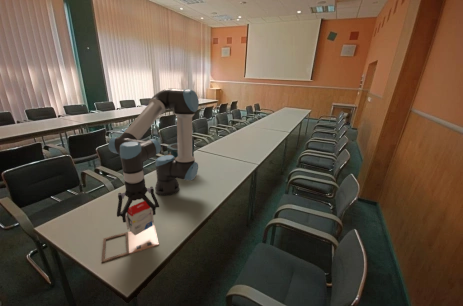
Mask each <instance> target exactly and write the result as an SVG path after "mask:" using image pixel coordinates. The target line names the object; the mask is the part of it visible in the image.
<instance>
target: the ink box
mask: <svg viewBox="0 0 463 306" xmlns="http://www.w3.org/2000/svg"><path fill="white" fill-rule="evenodd" d="M148 200H150V198H148ZM127 217H128V223H129V231H131V232H132V233H133V234H134V235H137V234H139V233H141V232H142V231H144V230H146V229H148V228H150V227H151V226H152V225H153V223H152V217H151V209H150V206H149V205H148V204H147V203H146V201H144V200H142V201H141V202H139V203H136V204H134V205H130V207H129V209H128V211H127Z"/></svg>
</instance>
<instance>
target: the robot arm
mask: <svg viewBox="0 0 463 306" xmlns="http://www.w3.org/2000/svg"><path fill="white" fill-rule="evenodd" d="M199 103H200V102H199V97H198V95H197V93H196V91H194V90H193V89H189V88H165V89H162V90H161V91H158V92H157V93H156V94H154V95H153V96H152V97H151V98H150V99H149V101H148V105H147V106H146V107H145V108H144V109H143V110H142V111H141V112H140V114H138V116H136V118H135V119H134V120H133V122H132V123H130V125H129V126H128V127H127V128H126V129H125V130H124V131H123V133H122V134H121V135H120V136H115V137H114V136H113V137H112V138H110V139H109V141H108V145H107V146H108V150H109V151H110V152H111V153H112V154H113V153H114V154H118V155H119V157H120V162H121V166H122V167H121V169H122V173H123V174H122V175H123V180H124V186H125V187H124V188H125V191H124V192H122V193H121V192H118V193H117V199H118V202H117V209H116V217H118V218H119V217H121V219H122V223H125V224H126V229H127V230H130V228H129V223H128V217H127V211H128V209H129V207H131V204H132V203H133V201H138V200H142V201H146V203H147V204H148V205H149V206H150V209H151V217H152V224H153V223H155V220H154V216H155V215H156V213H157V212H156V209H157V208H159V207H160V204H159V201H158V198H157V197H156V194H157V195H158V196H159V195H161V196H170V195H174V194H176V193H178V192H179V190H180V184H179V182H178V180H177V179H179V180H184V181H193V180H194V179H195V178H196V176H197V174H198V172H199V171H198V170H199V163H198V162H197V161H195V160H196V159H195V156H194V157H193V156H192V137H193V117H194V116H195V115H196V112H197V111H198V109H199V105H200V104H199ZM169 110H173V114H174V115H175V116H176V134H177V135H176V137H177V140H176V141H177V142H176V143H178V156H177V157H176V158H175V157H174V156H173V155H168V154H166V155H162V156H159V157H157V158H156V159H155V171H156V172H155V173H156V184H155V187H153V186H150V187H148V188H147V187H146V179H145V172H144V162H146V161H148V160H149V159H152V158H153V157H155V156H156V155H158V154H159V153H160V152H161V150H162V145H161V144H160V142H159V140H157V139H155V138H151V139H147V140H142V138H143V136H144V135H145V134H146V133H147V132H148V130H149V129H150V128H151V126H152V125H153V124H154V123H155V122H156V120H157V119H158V118H159V116H160V115H161V114H163V113H165V112H166V111H169ZM154 188H155V189H154ZM147 192H148V193H149V194H150V196H151V198H152V200H153V202H152V201H151V199H149V197H147V195H146V194H147ZM155 193H156V194H155ZM125 197H127V200H126V203H125V204H124V205H125V206H124V207H123V209H122V206H123V199H124V198H125ZM148 199H149V200H148Z"/></svg>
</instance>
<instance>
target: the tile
mask: <svg viewBox="0 0 463 306" xmlns="http://www.w3.org/2000/svg"><path fill="white" fill-rule="evenodd" d="M127 232H128V242H129V255H131V254H135V253H139V252H140V251H144V250H148V249H150V248H154V247H157V246H160V243H159V239H158V235H157V230H156V226H155V224H152V226H151V227H150V228H148V229H146V230H144V231H142V232H141V233H139V234H137V235H134V234H133V233H132V232H131V231H130V230H129V231H127Z"/></svg>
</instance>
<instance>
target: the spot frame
mask: <svg viewBox="0 0 463 306" xmlns="http://www.w3.org/2000/svg"><path fill="white" fill-rule="evenodd" d="M128 232H129V231H126V232H122V233H118V234H115V235H114V234H113V235H111V236H107V237H103V238H102V239H103V240H102V241H103V242H102V253H101V264H103V263H106V262H109V261H113V260H115V259H119V258H122V257H126V256H129V255H130V254H129V242H128ZM121 236H125V248H126V250H125V251H126V252H123V253H120V254H115V255H114V256H110V257H108V258H107V257H106V250H107V249H106V248H107V246H106V245H107V241H108V240H112V239H115V238H119V237H121Z"/></svg>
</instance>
